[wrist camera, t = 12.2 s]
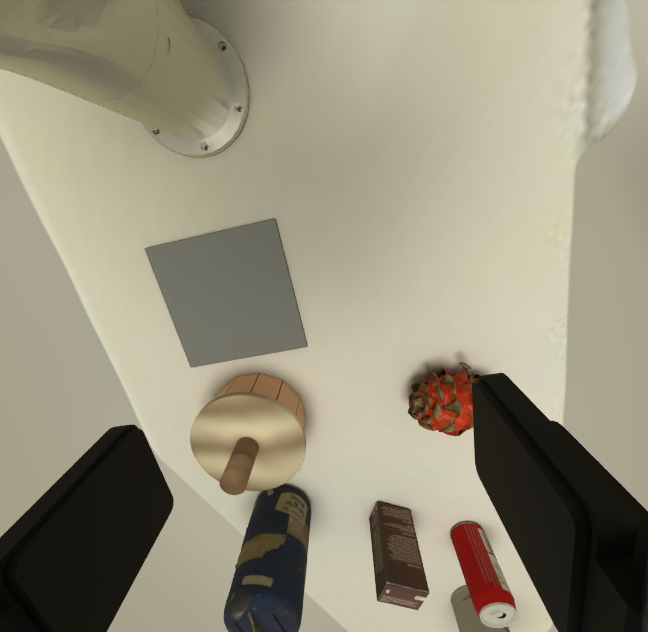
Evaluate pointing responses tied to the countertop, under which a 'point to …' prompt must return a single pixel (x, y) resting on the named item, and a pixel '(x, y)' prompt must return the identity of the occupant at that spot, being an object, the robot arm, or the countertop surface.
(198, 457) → the lid
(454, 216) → the countertop surface
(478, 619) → the thermos bottle
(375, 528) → the box
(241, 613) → the canister
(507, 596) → the soda can
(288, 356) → the countertop surface
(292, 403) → the ring
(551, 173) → the countertop surface
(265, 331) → the mat
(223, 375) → the countertop surface
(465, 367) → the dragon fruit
